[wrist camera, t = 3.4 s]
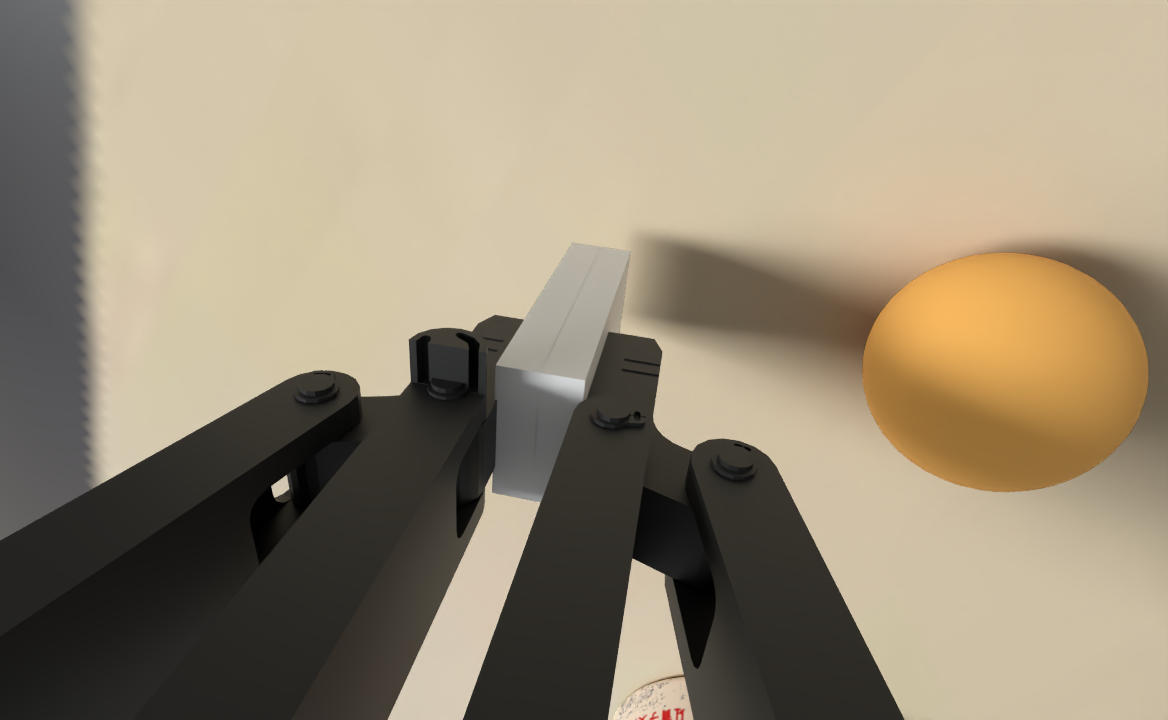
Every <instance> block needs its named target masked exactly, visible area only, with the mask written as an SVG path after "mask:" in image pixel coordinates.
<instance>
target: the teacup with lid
mask: <svg viewBox="0 0 1168 720" xmlns="http://www.w3.org/2000/svg"><path fill="white" fill-rule="evenodd" d="M613 720H694V719H693V715H692V710H691V705H690V700H689V696H688V691H687V686H686V682H685V677H679V678H671V679H666V680H661V681H658V682H654V683H652V684H649V685H647V686H644V687H642V688H640V689H639V690H637V691H635V692H634V693H632V694H631V695H630V696H629V697H627V698H626V699H625V700H624V701H623V702H622V704H621V705H620V706H619V708H618V709H617V711H616V713H615V715H614V717H613Z"/></svg>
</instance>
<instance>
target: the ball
mask: <svg viewBox="0 0 1168 720" xmlns="http://www.w3.org/2000/svg"><path fill="white" fill-rule="evenodd" d="M862 373H863V386H864V391H865V395H866V399H867V403H868V406H869V408H870V411H871V413H872V415H873V417H874V419H875V421H876V423H877V424H878V426H879V428H880V429H881V431H882V433H883V434H884V435H885V436H886V437H887V439H888V440H889V441H890V442H891V443H892V444H893V446H894V447H895V448H896V449H897V450H898V451H899V452H900V453H902V454H903V455H904V456H905V457H906V458H907V459H909V460H910V461H911V462H913V463H914V464H916V465H917V466H919V467H920V468H922V469H923V470H925V471H927V472H929V473H931V474H933V475H935V476H937V477H939V478H941V479H943V480H946V481H949V482H951V483H954V484H957V485H961V486H965V487H969V488H974V489H979V490H985V491H993V492H1016V491H1028V490H1035V489H1041V488H1045V487H1050V486H1054V485H1057V484H1060V483H1063V482H1066V481H1068V480H1070V479H1073V478H1075V477H1077V476H1080V475H1081V474H1083V473H1085V472H1087V471H1089V470H1090V469H1092V468H1093V467H1095V466H1096V465H1098V464H1099V463H1101V462H1102V461H1103V460H1105V459H1106V458H1107V457H1108V456H1109V455H1110V454H1112V453H1113V452H1114V451H1115V449H1116V448H1117V447H1118V446H1119V445H1120V444H1121V443H1122V442H1123V441H1124V440H1125V439H1126V437H1127V436H1128V434H1129V433H1130V432H1131V430H1132V429H1133V427H1134V425H1135V424H1136V422H1137V420H1138V418H1139V416H1140V413H1141V410H1142V407H1143V404H1144V401H1145V399H1146V394H1147V389H1148V358H1147V353H1146V348H1145V345H1144V342H1143V339H1142V337H1141V334H1140V332H1139V329H1138V327H1137V325H1136V323H1135V322H1134V320H1133V319H1132V317H1131V316H1130V314H1129V313H1128V311H1127V310H1126V308H1125V307H1124V305H1123V304H1122V303H1121V302H1120V301H1119V300H1118V299H1117V298H1116V297H1115V296H1114V295H1113V294H1112V293H1111V292H1110V291H1109V290H1108V289H1107V288H1105V287H1104V286H1103V285H1102V284H1100V283H1099V282H1097V281H1096V280H1095V279H1093V278H1092V277H1090V276H1088V275H1086V274H1084V273H1083V272H1081V271H1079V270H1077V269H1075V268H1073V267H1071V266H1069V265H1067V264H1064V263H1061V262H1058V261H1055V260H1052V259H1048V258H1044V257H1039V256H1034V255H1030V254H1021V253H986V254H979V255H972V256H968V257H964V258H960V259H956V260H953V261H950V262H948V263H945V264H942V265H940V266H938V267H936V268H933V269H931V270H929V271H927V272H925V273H924V274H922V275H921V276H919V277H917V278H916V279H914V280H913V281H911V282H910V283H909V284H908V285H906V286H905V287H904V288H903V289H901V290H900V291H899V292H898V293H897V294H896V295H895V296H894V297H893V298H892V299H891V300H890V301H889V302H888V304H887V305H886V306H885V307H884V309H883V310H882V311H881V313H880V314H879V316H878V318H877V319H876V321H875V323H874V325H873V327H872V329H871V332H870V334H869V337H868V339H867V343H866V347H865V350H864V356H863V367H862Z"/></svg>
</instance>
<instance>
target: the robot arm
mask: <svg viewBox="0 0 1168 720" xmlns="http://www.w3.org/2000/svg"><path fill="white" fill-rule="evenodd" d="M630 252H631V251H626V250H620V249H613V248H606V247H599V246H592V245H586V244H579V243H572V244H571V246H570V247H569V249H568V250H567V252H566V254H565V255H564V257H563V258H562V260H561V262H560V263H559V265H558V266H557V268H556V270H555V271H554V273H553V274H552V276H551V278H550V279H549V281H548V282H547V284H546V285H545V287H544V289H543V290H542V292H541V293H540V295H539V297H538V298H537V300H536V301H535V303H534V305H533V306H532V308H531V309H530V311H529V313H528V314H527V316H526V317H525V319H524V320H523V319H516V318H510V317H504V316H498V315H494V316H492V317H490V318H488V319H486V320H484V321H482V322H480V323H478V325H477V326H476V327H475V329H474V330H473V331H472V332H470V331H467V330H463V329H455V328H439V329H431V330H427V331H424V332H421V333H418V334H416V335H415V336H413V337H412V338H410V339H409V351H410V372H411V383H410V384H409V385H408V386H407V388H406V389H405V390H404V391H403V392H402V394H401V395H399V396H379V397H361V394H360V386H359V384H358V382H357V381H356V379H354V378H353V377H351V376H349V375H347V374H345V373H340V372H335V371H326V370H325V371H323V370H321V371H313V372H309V373H304V374H300V375H297V376H295V377H292V378H290V379H288V380H286V381H284V382H282V383H280V384H278V385H277V386H275V387H273V388H271V389H270V390H268V391H266V392H264V393H262V394H261V395H259V396H257V397H255V398H253V399H252V400H250V401H248V402H246V403H245V404H243V405H241V406H239V407H237V408H236V409H234V410H232V411H230V412H229V413H227V414H225V415H223V416H221V417H220V418H218V419H216V420H214V421H213V422H211V423H209V424H207V425H205V426H204V427H202V428H200V429H198V430H196V431H195V432H193V433H191V434H189V435H188V436H186V437H184V438H182V439H180V440H179V441H177V442H175V443H173V444H172V445H170V446H168V447H166V448H164V449H163V450H161V451H159V452H157V453H156V454H154V455H152V456H150V457H148V458H147V459H145V460H143V461H141V462H140V463H138V464H136V465H134V466H132V467H131V468H129V469H127V470H125V471H123V472H122V473H120V474H118V475H116V476H115V477H113V478H111V479H109V480H107V481H106V482H104V483H102V484H100V485H99V486H97V487H95V488H93V489H91V490H90V491H88V492H86V493H84V494H83V495H81V496H79V497H77V498H75V499H74V500H72V501H70V502H68V503H66V504H65V505H63V506H61V507H59V508H58V509H56V510H54V511H52V512H50V513H49V514H47V515H45V516H43V517H42V518H40V519H38V520H36V521H34V522H33V523H31V524H29V525H27V526H26V527H24V528H22V529H20V530H19V531H17V532H15V533H13V534H11V535H10V536H8V537H6V538H4V539H2V540H1V541H0V720H388V717H389V715H390V713H391V711H392V709H393V707H394V704H395V702H396V700H397V698H398V696H399V694H400V691H401V689H402V687H403V685H404V683H405V681H406V678H407V676H408V674H409V672H410V670H411V667H412V665H413V663H414V661H415V659H416V657H417V654H418V652H419V650H420V648H421V646H422V644H423V641H424V639H425V637H426V635H427V633H428V631H429V628H430V626H431V624H432V622H433V620H434V618H435V615H436V613H437V611H438V609H439V607H440V604H441V602H442V600H443V598H444V596H445V594H446V591H447V589H448V587H449V585H450V583H451V581H452V578H453V576H454V574H455V572H456V570H457V568H458V565H459V563H460V561H461V559H462V557H463V555H464V552H465V550H466V548H467V546H468V544H469V541H470V539H471V537H472V535H473V533H474V531H475V528H476V526H477V524H478V522H479V520H480V518H481V515H482V513H483V509H484V503H485V486H486V484H487V482H488V480H489V478H490V476H491V474H492V472H493V482H492V493H496V494H502V495H507V496H512V497H517V498H522V499H527V500H532V501H538V502H541V503H540V506H539V509H538V512H537V514H536V517H535V520H534V523H533V526H532V528H531V531H530V534H529V537H528V540H527V542H526V545H525V548H524V551H523V554H522V556H521V559H520V562H519V565H518V567H517V570H516V573H515V576H514V579H513V581H512V584H511V587H510V590H509V593H508V595H507V598H506V601H505V604H504V607H503V609H502V612H501V615H500V618H499V620H498V623H497V626H496V629H495V632H494V634H493V637H492V640H491V643H490V646H489V648H488V651H487V654H486V657H485V660H484V662H483V665H482V668H481V671H480V673H479V676H478V679H477V682H476V685H475V687H474V690H473V693H472V696H471V699H470V701H469V704H468V707H467V710H466V713H465V715H464V718H463V720H608V714H609V707H610V701H611V694H612V688H613V681H614V674H615V668H616V661H617V655H618V648H619V641H620V635H621V628H622V622H623V615H624V608H625V602H626V595H627V589H628V582H629V575H630V569H631V562H632V558H633V559H635V560H637V561H639V562H641V563H643V564H645V565H647V566H649V567H651V568H653V569H655V570H657V571H659V572H661V573H664V574H665V588H666V593H667V597H668V602H669V607H670V611H671V616H672V621H673V625H674V630H675V635H676V639H677V644H678V649H679V654H680V658H681V663H682V668H683V672H684V677H685V682H686V686H687V691H688V696H689V700H690V705H691V710H692V715H693V719H694V720H904V718H903V716H902V714H901V712H900V710H899V708H898V706H897V704H896V702H895V700H894V698H893V696H892V694H891V692H890V690H889V688H888V686H887V684H886V682H885V680H884V678H883V676H882V674H881V672H880V670H879V668H878V666H877V664H876V662H875V661H874V659H873V657H872V655H871V653H870V651H869V649H868V647H867V645H866V643H865V641H864V639H863V637H862V635H861V633H860V631H859V629H858V627H857V625H856V623H855V621H854V619H853V617H852V615H851V613H850V611H849V609H848V607H847V605H846V603H845V601H844V599H843V597H842V595H841V593H840V591H839V589H838V588H837V586H836V584H835V582H834V580H833V578H832V576H831V574H830V572H829V570H828V568H827V566H826V564H825V562H824V560H823V558H822V556H821V554H820V552H819V550H818V548H817V546H816V544H815V542H814V540H813V538H812V536H811V534H810V532H809V530H808V528H807V526H806V524H805V522H804V520H803V518H802V517H801V515H800V513H799V511H798V509H797V507H796V505H795V503H794V501H793V499H792V497H791V495H790V493H789V491H788V489H787V487H786V485H785V483H784V481H783V479H782V477H781V475H780V473H779V471H778V469H777V467H776V466H775V464H774V463H773V462H772V461H771V459H770V458H769V457H768V456H767V455H766V454H764V453H763V452H761V451H760V450H758V449H757V448H755V447H753V446H751V445H748V444H746V443H743V442H740V441H736V440H729V439H713V440H707V441H705V442H703V443H701V444H698V445H697V446H696V448H695V449H694V450H693V452H692V451H690V450H688V449H685V448H683V447H681V446H678V445H676V444H674V443H672V442H671V441H669V440H668V439H667V438H665V437H664V436H663V435H662V434H661V433H660V432H659V431H658V430H657V428H656V426H655V424H654V422H653V412H654V405H655V398H656V392H657V385H658V378H659V372H660V365H661V358H662V350H661V349H660V347H659V346H658V344H657V342H656V341H655V339H650V338H644V337H638V336H632V335H626V334H620V327H621V319H622V312H623V304H624V297H625V289H626V282H627V274H628V267H629V259H630ZM286 475H287V478H288V483H289V490H288V491H286V492H285V493H284V494H282V495H280V496H278V497H276V498H274V496H273V493H272V488H271V486H272V485H273V484H275V483H276V482H277V481H279V480H280V479H282V478H283V477H284V476H286Z"/></svg>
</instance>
